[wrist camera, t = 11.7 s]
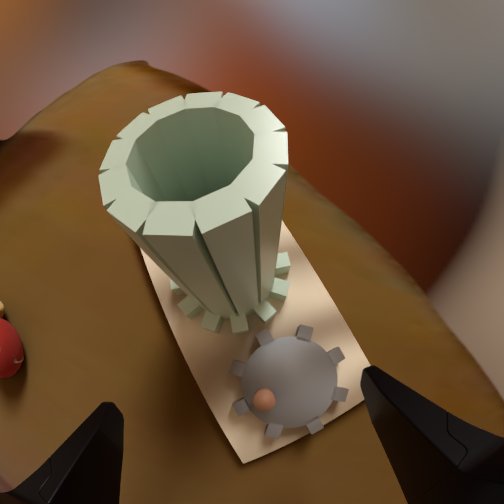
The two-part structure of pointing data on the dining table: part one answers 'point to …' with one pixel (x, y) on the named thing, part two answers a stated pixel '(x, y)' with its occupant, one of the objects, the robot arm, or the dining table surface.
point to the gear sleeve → (205, 202)
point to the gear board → (240, 346)
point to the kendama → (9, 348)
